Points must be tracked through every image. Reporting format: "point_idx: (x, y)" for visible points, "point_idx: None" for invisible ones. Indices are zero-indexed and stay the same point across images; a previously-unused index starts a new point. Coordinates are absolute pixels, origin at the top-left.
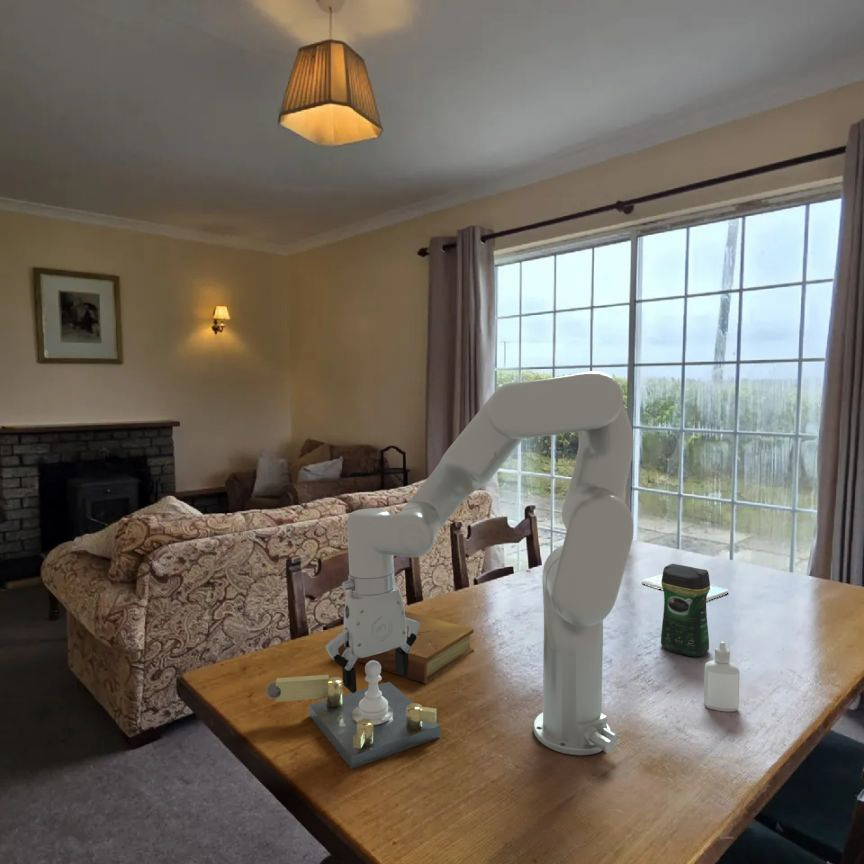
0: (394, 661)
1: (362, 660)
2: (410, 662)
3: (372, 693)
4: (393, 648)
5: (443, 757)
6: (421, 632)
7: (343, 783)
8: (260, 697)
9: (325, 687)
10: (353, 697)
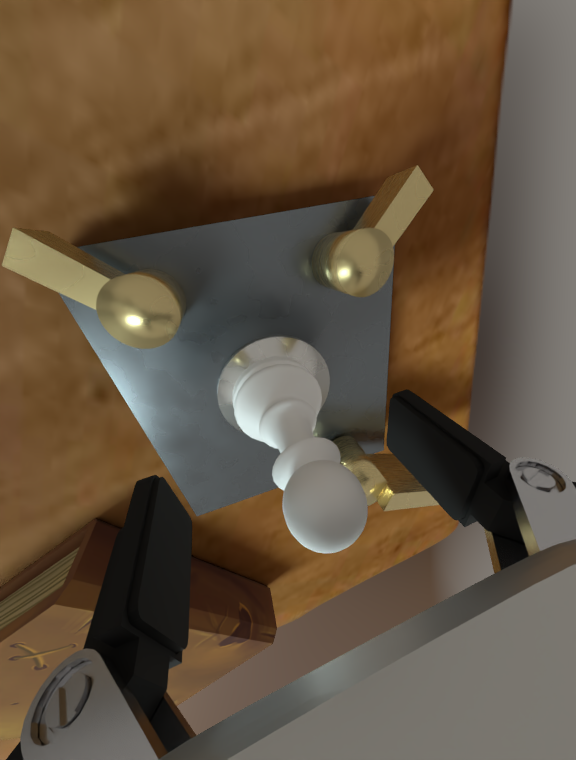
0: None
1: (234, 578)
2: None
3: (301, 416)
4: (252, 732)
5: (54, 95)
6: None
7: (414, 137)
8: None
9: (385, 474)
10: None
